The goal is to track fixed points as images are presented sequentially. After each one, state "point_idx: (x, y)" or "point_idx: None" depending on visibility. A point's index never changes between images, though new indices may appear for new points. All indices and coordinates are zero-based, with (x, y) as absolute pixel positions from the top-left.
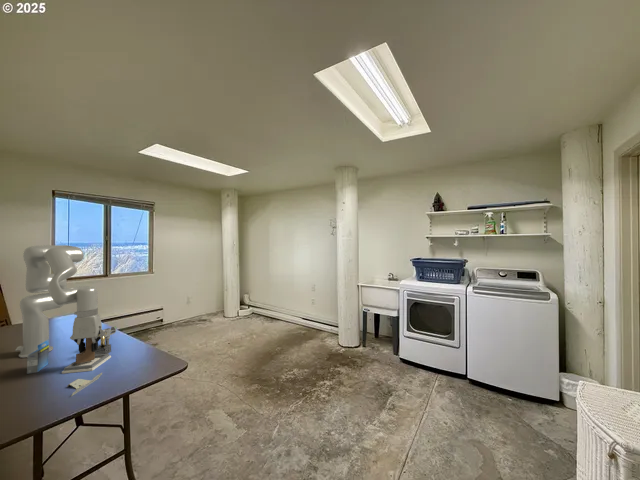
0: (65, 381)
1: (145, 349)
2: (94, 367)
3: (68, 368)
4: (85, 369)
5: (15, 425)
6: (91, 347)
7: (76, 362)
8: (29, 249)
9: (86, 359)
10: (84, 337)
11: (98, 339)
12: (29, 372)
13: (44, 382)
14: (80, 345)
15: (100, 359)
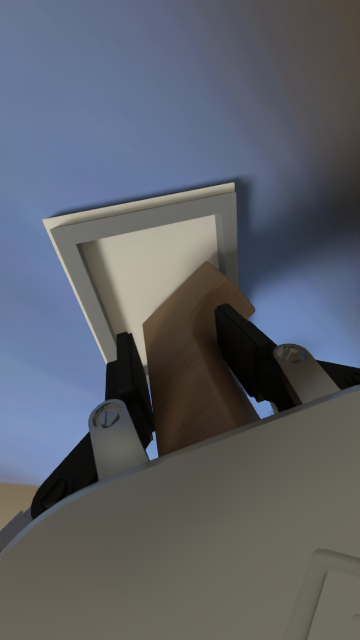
0: (79, 4)
1: (11, 466)
2: (54, 244)
3: (208, 198)
4: (91, 210)
5: None
6: (165, 370)
7: (207, 263)
8: None
9: (170, 302)
10: (245, 446)
11: (62, 469)
12: None
13: (247, 28)
14: (252, 343)
15: (92, 325)
